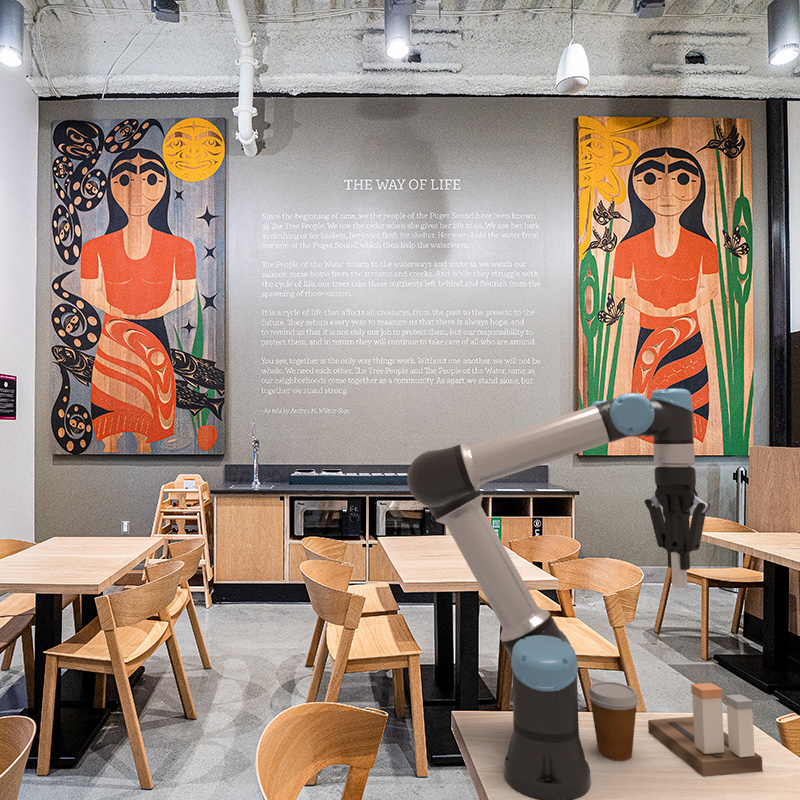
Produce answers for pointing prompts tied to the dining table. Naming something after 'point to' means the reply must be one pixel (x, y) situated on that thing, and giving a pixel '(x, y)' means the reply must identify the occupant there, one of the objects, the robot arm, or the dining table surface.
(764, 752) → the dining table surface
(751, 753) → the grey topped white block
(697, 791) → the dining table surface
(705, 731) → the orange topped beige block
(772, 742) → the dining table surface
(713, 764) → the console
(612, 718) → the disposable coffee cup
